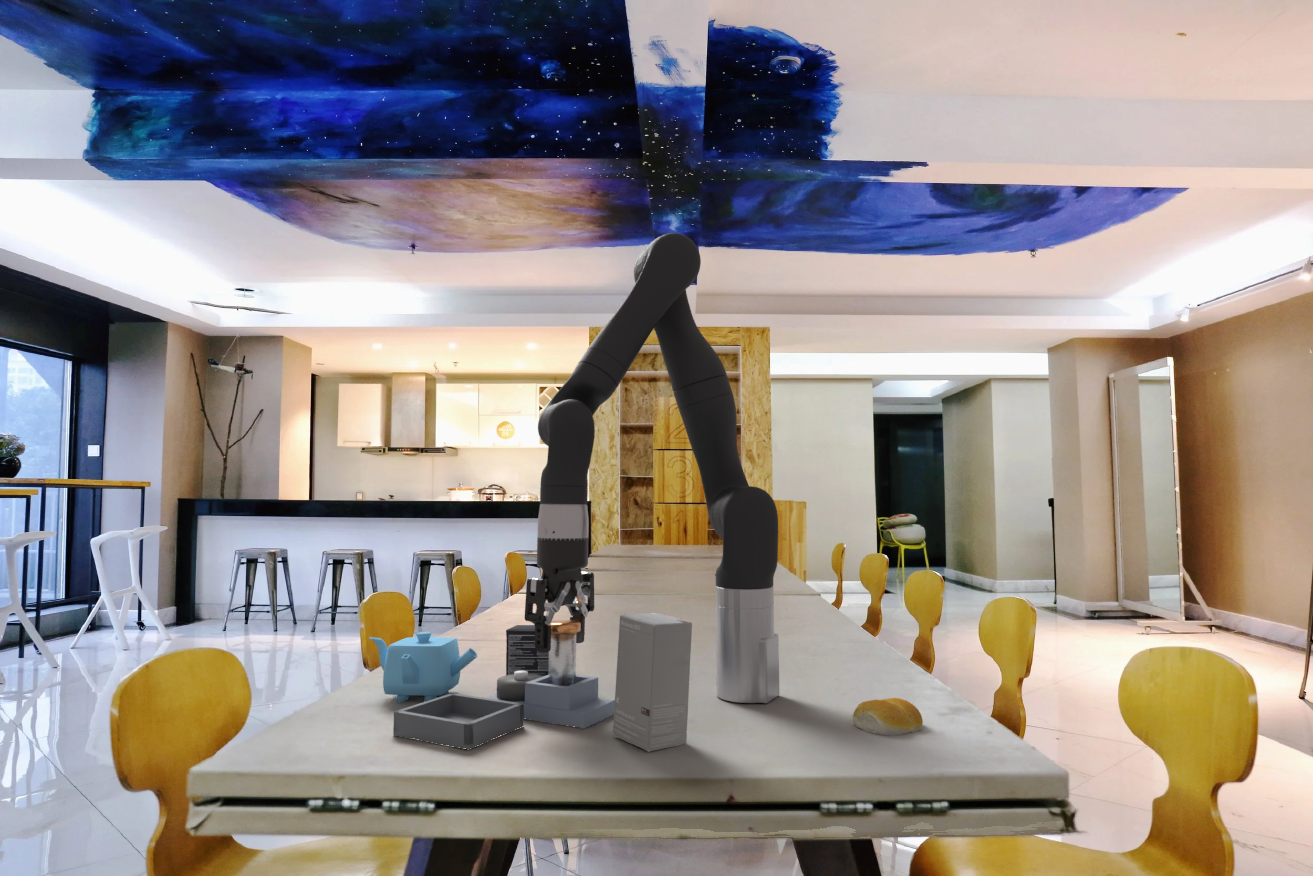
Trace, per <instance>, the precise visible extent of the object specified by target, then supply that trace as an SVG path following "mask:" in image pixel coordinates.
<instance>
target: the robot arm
mask: <svg viewBox="0 0 1313 876" xmlns="http://www.w3.org/2000/svg"><path fill="white" fill-rule="evenodd" d="M701 261H702V259H701V253H700V251H699V249H698V247H697V245H696V244H695V242H694V241H693V240H692V239H691V238H690V237H688V236H686V235H684V234H682V233H677V232H669V233H665V234H662V235H660V236H658V237H657V238H655V239H654V240H653V241H651V242H650V243H649V244H648V245H647V247H645V249H643V251H642V252H641V253H640V254H639V255H638V256H637V258H636V260H635V263H634V267H633V279H634V282H635V284H634V285H633V287H632V289H631V291H630V292H629V293H628V295H627V296H626V298H625V299H624V301H623V302H622V303H621V305H619V307H618V309H617V310H616V311H615V313H614V314H613V315H612V316H611V317H610V319H609V320H608V321H607V322H606V323H605V325H604V326H603V327H602V328H601V330H600V331H599V332H598V334H597V335H596V337H595V338H594V339H593V341H592V342H590V344H589V347H587V349H586V351H585V352H584V354H583V355H582V356H581V358H580V359H579V362H578V363H577V364H576V366H575V368H574V370H573V372H572V374H571V375H570V376H569V377H568V379H567V380H566V382H565V383H564V384H563V385H562V386H561V387H560V389H558V391H557V392H556V394H555V395H554V396H553V397H552V398H551V400H550V401H549V402H548V404H547V405H546V406H545V408H544V409H543V411H542V413H541V414H540V416H539V420H538V424H537V432H538V436H539V438H540V439H541V442H542V443H544V444H545V446H547V459H546V465H545V467H544V468H543V469H542V472H541V476H540V488H539V489H540V490H539V509H538V517H537V535H536V536H537V539H536V540H537V541H536V545H537V546H536V565H537V567H538V568H540V569H541V570H542V572H541V573H542V574H541V578H538V577H528V578H527V579H526V580H527V581H526V587H525V588H526V589H525V590H526V591H525V603H524V606H525V607H524V620H525V622H530V623H532V625H535V650H536V651H537V652H544V653H546V652H549V651H550V650H551V625H550V624H551V621H553V620H554V619H553V618H554V616H555V614H556V613H557V612H559V611H560V610H561V607H564V606H566V608H567V609H568V611H569V613H570V617H569V620H575V621H580V622H581V629H580V632H577V633H576V644H582V643H584V642H585V634H586V633H585V630H586V629H585V628H586V626H585V624H586V618H587V617H588V614H589V613H590V612H593V611H594V610H595V574H594V572H591V571H582V569H584V568H587V566H588V564H589V526H590V525H589V524H590V523H589V519H590V518H589V511H588V495H589V494H588V493H589V492H588V491H589V490H588V487H589V484H588V483H589V482H588V481H589V480H588V472H589V469H590V464H591V459H592V455H593V448H594V443H595V433H596V431H595V421H594V420H595V419H594V415H595V414H596V412H597V410H598V409H599V407H600V406H601V405H603V404H604V403H605V402H607V401H608V400H609V399H610V398H611V396H612V395H613V394H614V393H615V391H616V390H617V388H618V386H620V384H621V382H622V380H623V379H624V377H625V375H626V374H627V372H628V371H629V369H630V368H631V366H632V364H633V363H634V361H635V359H636V358H637V356H638V354H639V353H640V351H641V349H642V347H644V345H645V343H646V341H647V340H648V338H649V337H650V336H651V333H652V332H653V330H654V332H655V335H656V337H657V341H658V345H659V348H660V352H661V355H662V358H663V363H664V365H665V367H666V372H667V374H668V378H669V381H670V385H671V388H672V392H673V396H674V399H675V402H676V405H677V408H678V412H679V415H680V418H681V420H682V423H683V425H684V428H685V429H684V430H685V432H686V434H687V438H688V441H689V444H690V447H691V450H692V453H693V456H694V457H695V460H696V464H697V467H698V471H699V474H700V479H701V483H702V489H703V494H704V499H705V504H706V510H707V514H708V518H709V522H710V525H711V526H712V528H713V530H714V532H715V533H716V534H717V535H718V536H719V537H720V538H722V557H721V561H720V564H719V565H718V567H717V568H716V570H715V633H716V634H715V635H716V636H715V637H716V641H715V642H716V655H715V656H716V697H718V698H719V699H721V700H724V701H728V702H732V703H744V704H755V703H756V704H757V703H758V704H759V703H761V704H768V703H770V702H771V701H772V700H774V699H775V698H777V697H778V696H780V658H779V657H780V653H779V651H780V650H779V649H780V648H779V647H780V645H779V644H780V643H779V640H780V639H779V634H778V633H775V615H774V614H775V612H774V611H775V609H774V608H775V606H774V604H775V603H774V602H775V601H774V598H775V597H774V576H775V573H776V571H777V567H778V561H779V559H778V558H779V554H778V553H779V517H778V516H779V515H778V509H777V505H776V503H775V501H774V499H773V498H772V496H771V495H770V494H769V493H768V492H767V491H766V490H764V489H762V488H761V487H759V486H758V487H757V486H754V485H753V486H751V485H749V482H748V480H747V477H746V475H745V472H744V469H743V467H742V463H741V459H740V456H739V451H738V450H739V449H738V430H737V429H738V428H737V424H738V423H737V420H738V419H737V408H736V401H735V397H734V393H733V391H732V387H731V383H730V380H729V377H728V375H727V374H728V373H727V371H726V369H725V367H724V364H723V362H722V360H721V358H720V357H719V355H718V354H717V352H716V351H715V350H714V348H713V347H712V345H711V344H710V343H709V342H708V341H707V339H706V338H705V337H704V335H703V334H702V332H701V331H700V329H699V327H698V326H697V324H696V321H695V319H694V317H693V314H692V310H691V306H690V303H689V299H688V294H687V289H688V288H689V287H691V285H693V283H694V282H695V281H696V278H697V277H698V275H699V273H700V269H701V263H702V262H701ZM585 596H586V597H587V599H586V597H585ZM586 601H587V602H586ZM534 605H535V606H536V609H535V612H534ZM545 612H546V613H545Z"/></svg>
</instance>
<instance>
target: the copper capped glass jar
mask: <svg viewBox="0 0 1313 876" xmlns="http://www.w3.org/2000/svg"><path fill="white" fill-rule="evenodd" d="M550 625H551V650H550V651H549V668H548V684H553V685H560V686H570V685H572V684H575V683H576V675H577V643H576V633H577V632H580V629H581V622H580V621H575V620H570V619H557V620H554V619H553V620H552V621H551V624H550Z"/></svg>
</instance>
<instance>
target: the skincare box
mask: <svg viewBox="0 0 1313 876" xmlns="http://www.w3.org/2000/svg"><path fill="white" fill-rule="evenodd" d="M692 629H693V622H691V621H689V620H685V619H682V618H678V617H677V616H673V615H666V614H662V613H658V612H648V613H647V612H645V613H624V614H620V615H619V627H618V643H617V658H616V659H617V660H616V672H615V673H616V676H615V688H614V689H615V692H614V693H615V694H614V700H615V706H614V715H613V723H612V724H613V726H612V734H613V737H615V738H616V739H620V740H622V741H624V742H627V743H629V744H631V745H633V746H636V747H639V748H640V749H643V750H644V751H647V752H650V753H651V752H654V751H658V750H662V749H667V748H672V747H673V748H674V747H677V746H681V745H685V744H687V741H688V740H687V736H688V732H687V731H688V719H689V718H688V714H689V695H690V694H689V693H690V691H689V690H690V673H691V672H690V669H691V652H692V649H691V648H692V635H693V634H692V633H693V631H692Z"/></svg>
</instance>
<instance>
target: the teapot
mask: <svg viewBox="0 0 1313 876" xmlns="http://www.w3.org/2000/svg"><path fill="white" fill-rule="evenodd" d="M368 639H370V640H371V641H372V642H374V644H375V645H376V646H377V650H378V657H379V665H380V667H381V669H382V670H383V678H382V688H383V692H384V695H392V696H395V698H394V699H393V702H395V703H405V702H408V700H409V697H410V696H424V697H423V699H424V701H423V702H426V701H429V700H432V699H435V698H438V697H437V696H444V695H443V694H445V695H448V693H449V694H450V690H452V689H454V688H455V687H456V686H457V685H458V684H459V683H460V678H461V671H462V670H464V668H466V667H467V666H468V665H469V664H471V663H472V662H473V661H474V660H475V659H477V657H478V654H477V652H476V650H474V649H473V648H468V649H467V650H466V651H465V652H464V653H463V654H461V655H460V649H459V642H458V638H457V637H439V636H438V637H432V632H430V631H420V632H417V633H416V636H413V637H411V636H409V637H408V636H407V637H405V638H403V639H399V640H397V641H395V642H392V643H390V644H389V645H388V646H387V644H386V642H385V641H384V640H383V638H381V637H380V638H379V637H373V636H369V637H368Z"/></svg>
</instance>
